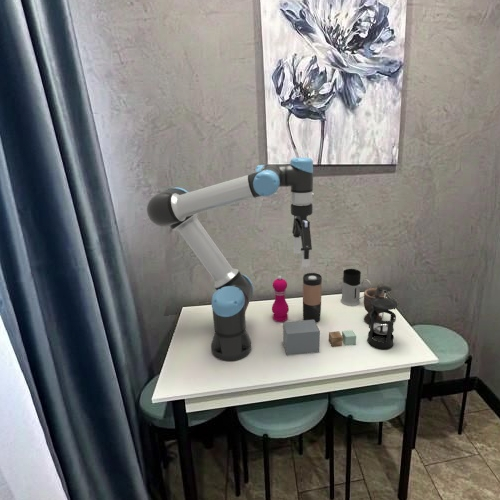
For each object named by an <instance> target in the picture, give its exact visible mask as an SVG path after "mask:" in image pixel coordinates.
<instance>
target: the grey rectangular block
mask: <svg viewBox="0 0 500 500" xmlns="http://www.w3.org/2000/svg"><path fill="white" fill-rule="evenodd" d="M320 340H321V330H320V328H319V327H318V325H317V323H316V322H315V320H293V321H283V322H282V343H283V347H284V349H285V353H286V356H294V355H295V356H296V355H302V354H303V355H305V354H314V353H315V354H317V353H320V345H321V341H320Z"/></svg>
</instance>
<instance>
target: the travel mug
mask: <svg viewBox="0 0 500 500" xmlns="http://www.w3.org/2000/svg"><path fill="white" fill-rule="evenodd" d="M322 280H323V279H322V275H321V274H319V273H315V272H309V273H308V272H307V273H304V274H303V277H302V317H303V318H302V319H303V320H315V322H316V324H317V323H319V322H320V321H321V312H322V282H323V281H322ZM303 320H302V321H303Z"/></svg>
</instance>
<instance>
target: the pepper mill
mask: <svg viewBox="0 0 500 500" xmlns="http://www.w3.org/2000/svg"><path fill="white" fill-rule="evenodd" d="M287 288H288V282H287V280H286V279H284V278H283V276H281V275H278V276H277V278H276V279H274V281H273V282H272V289H274V290H273V294H274V296H275V298H274V301H273V303H272V305H271V312H272V319H273V321H276V322H279V323H281V322H282V323H283V322H287V320H288V318H289V317H288V313H289V310H290V309H289V307H290V306H289V304H288V302H287V300H286V296H285V295H286V294H287V290H286V289H287Z"/></svg>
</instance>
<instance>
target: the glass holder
mask: <svg viewBox="0 0 500 500" xmlns="http://www.w3.org/2000/svg"><path fill="white" fill-rule="evenodd" d="M342 274H343V275H342V276H343V277H342V287H341V289H342V290H341V299H340V303H341V304H342V305H344V306H347V307H358V306H359V305H360V304H361V301H360V300H361V299H364V295H363V296H361V295H360V294H361V287H363V286H364V285H363V284H364V281H367V283H369V288H368V289H371V288H372V282H371V281H370V280H369V279H367V278H364V279H363V280H361V275H362V273H361V271H360V270H358V269H355V268H346V269H344V270H343V273H342ZM360 296H361V297H360Z"/></svg>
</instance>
